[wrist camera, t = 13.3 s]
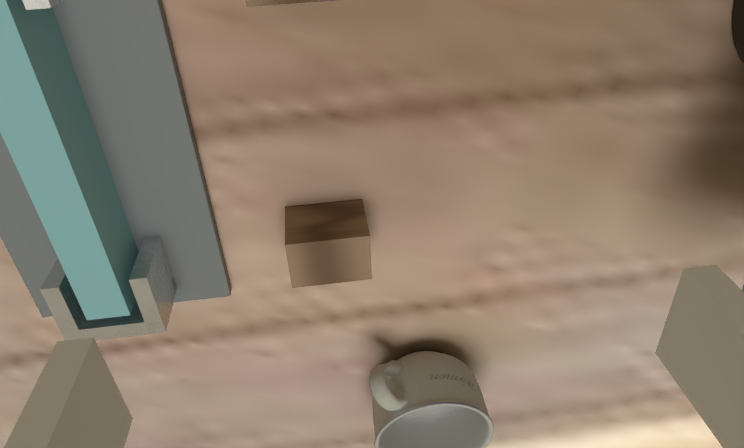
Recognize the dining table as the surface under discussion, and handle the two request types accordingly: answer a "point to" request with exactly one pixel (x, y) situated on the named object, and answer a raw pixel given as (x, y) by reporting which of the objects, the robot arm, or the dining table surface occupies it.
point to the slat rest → (325, 232)
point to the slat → (63, 161)
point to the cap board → (128, 148)
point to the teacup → (428, 404)
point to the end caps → (146, 281)
